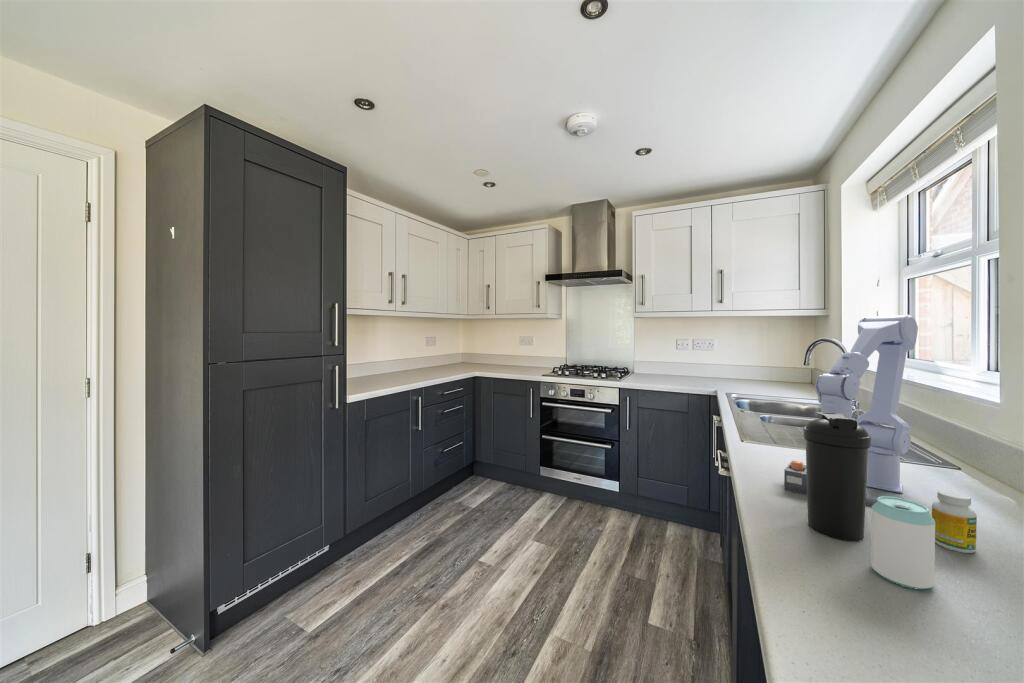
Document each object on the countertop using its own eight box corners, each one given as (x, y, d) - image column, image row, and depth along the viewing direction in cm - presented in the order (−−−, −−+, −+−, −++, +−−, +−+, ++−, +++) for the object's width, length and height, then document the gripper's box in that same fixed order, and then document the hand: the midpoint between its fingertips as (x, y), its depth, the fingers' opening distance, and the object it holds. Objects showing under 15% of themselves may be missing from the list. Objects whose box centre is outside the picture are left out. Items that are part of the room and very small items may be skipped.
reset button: (792, 475, 98) (792, 460, 98) (803, 477, 96) (803, 462, 96) (790, 477, 96) (790, 462, 96) (802, 480, 94) (802, 464, 94)
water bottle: (852, 522, 78) (853, 412, 78) (882, 548, 69) (883, 422, 68) (794, 514, 81) (795, 409, 81) (815, 538, 72) (816, 418, 72)
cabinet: (790, 481, 100) (790, 462, 100) (816, 486, 97) (816, 467, 96) (784, 489, 95) (784, 470, 95) (811, 496, 91) (812, 475, 91)
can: (948, 595, 56) (949, 515, 56) (893, 589, 57) (894, 511, 57) (907, 566, 63) (908, 495, 63) (859, 562, 64) (860, 492, 64)
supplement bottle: (934, 535, 73) (935, 486, 73) (978, 548, 69) (979, 495, 68) (928, 543, 70) (929, 492, 70) (973, 557, 66) (974, 503, 65)
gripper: (856, 432, 83) (856, 493, 83) (860, 421, 93) (859, 476, 93) (815, 426, 88) (815, 484, 88) (823, 417, 98) (822, 469, 98)
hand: (835, 479), depth 91 cm, fingers closed on carriage, 2 cm apart
